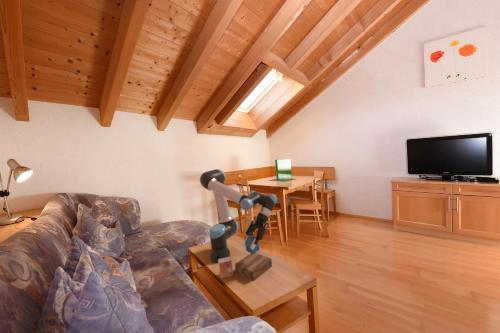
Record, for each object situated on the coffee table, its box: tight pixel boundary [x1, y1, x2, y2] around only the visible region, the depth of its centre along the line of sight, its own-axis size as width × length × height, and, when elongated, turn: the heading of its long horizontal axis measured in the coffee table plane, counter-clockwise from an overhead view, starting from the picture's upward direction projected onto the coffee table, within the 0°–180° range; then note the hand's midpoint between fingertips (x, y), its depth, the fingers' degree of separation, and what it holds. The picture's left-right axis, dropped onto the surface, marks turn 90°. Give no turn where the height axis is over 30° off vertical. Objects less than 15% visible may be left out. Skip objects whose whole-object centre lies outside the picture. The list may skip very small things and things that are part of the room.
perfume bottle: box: [244, 232, 260, 254], centre depth 143 cm, size 6×6×12 cm
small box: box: [217, 256, 234, 279], centre depth 141 cm, size 8×6×10 cm
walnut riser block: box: [234, 252, 273, 281], centre depth 145 cm, size 16×18×6 cm
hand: (247, 247), depth 141 cm, fingers closed on perfume bottle, 6 cm apart
